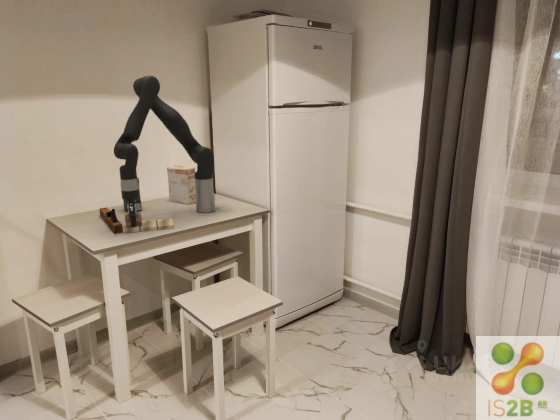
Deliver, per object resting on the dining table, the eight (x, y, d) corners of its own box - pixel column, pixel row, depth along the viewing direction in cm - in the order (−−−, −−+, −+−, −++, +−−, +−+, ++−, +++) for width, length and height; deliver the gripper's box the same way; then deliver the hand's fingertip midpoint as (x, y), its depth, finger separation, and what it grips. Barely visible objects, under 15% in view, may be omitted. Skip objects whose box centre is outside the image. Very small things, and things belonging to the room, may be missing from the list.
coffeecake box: (197, 201, 247) (195, 167, 242) (188, 204, 241) (186, 169, 236) (178, 198, 255) (175, 165, 249) (169, 201, 249) (166, 167, 244)
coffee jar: (121, 209, 232) (118, 175, 227) (136, 207, 237) (133, 173, 232) (129, 213, 225) (125, 177, 220) (144, 210, 230) (140, 175, 225)
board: (172, 221, 211) (172, 218, 211) (174, 228, 201) (174, 225, 201) (123, 225, 205) (123, 222, 205) (123, 233, 195) (123, 229, 194)
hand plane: (127, 232, 197) (124, 211, 194) (114, 234, 194) (112, 212, 191) (107, 214, 224) (105, 195, 221) (97, 216, 221) (94, 197, 219)
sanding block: (142, 223, 204) (140, 212, 202) (142, 225, 200) (141, 215, 198) (126, 224, 202) (124, 214, 200) (126, 227, 198) (124, 216, 196)
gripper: (139, 191, 191) (142, 228, 195) (138, 184, 204) (142, 219, 208) (120, 192, 188) (125, 230, 193) (121, 185, 201) (125, 221, 206)
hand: (133, 224), depth 201 cm, fingers closed on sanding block, 4 cm apart
